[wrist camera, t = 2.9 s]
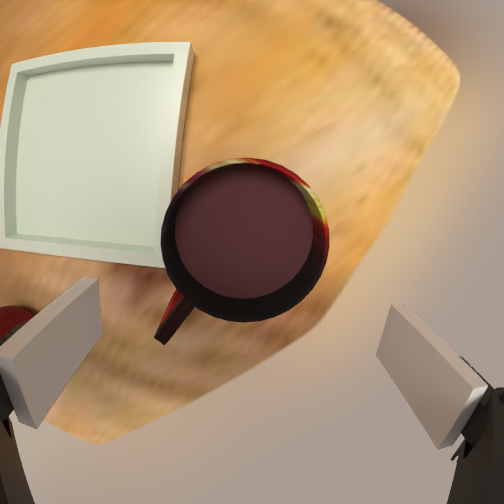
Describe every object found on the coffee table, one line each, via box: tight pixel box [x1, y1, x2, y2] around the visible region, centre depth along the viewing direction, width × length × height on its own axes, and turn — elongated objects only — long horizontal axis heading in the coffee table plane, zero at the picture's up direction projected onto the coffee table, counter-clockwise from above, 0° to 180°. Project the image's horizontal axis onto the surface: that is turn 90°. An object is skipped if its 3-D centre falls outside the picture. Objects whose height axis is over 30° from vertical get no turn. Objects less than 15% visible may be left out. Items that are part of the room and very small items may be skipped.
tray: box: [0, 42, 195, 268], centre depth 25 cm, size 20×20×3 cm
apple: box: [0, 306, 34, 339], centre depth 26 cm, size 10×10×10 cm
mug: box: [154, 158, 329, 345], centre depth 24 cm, size 10×14×12 cm
